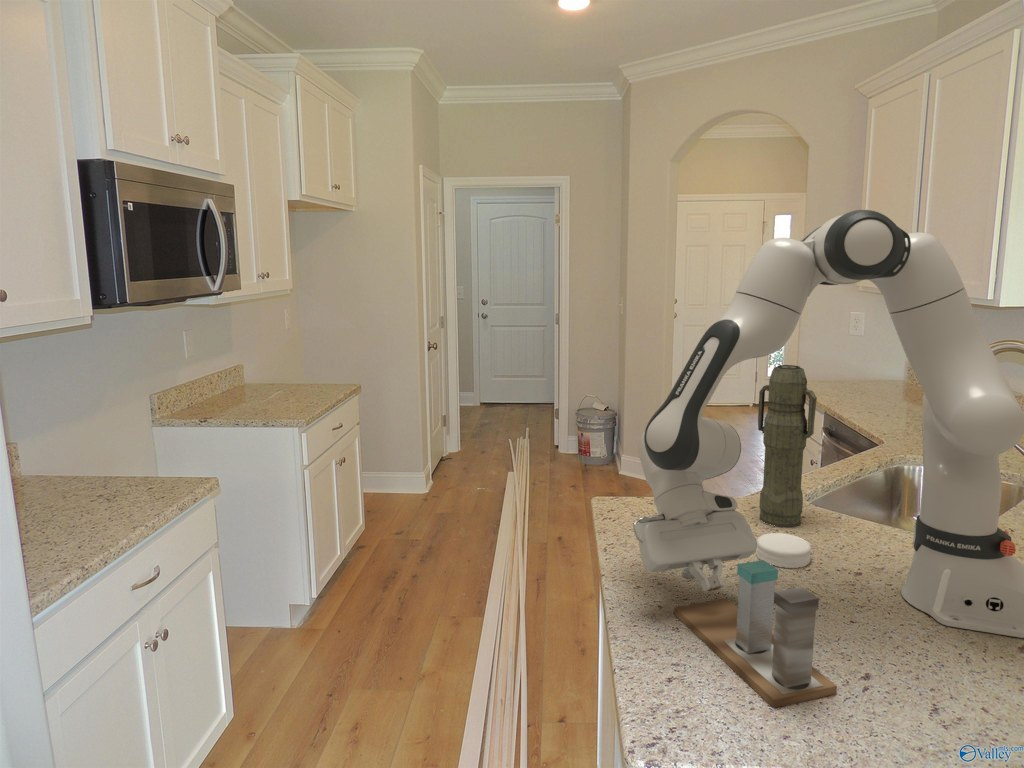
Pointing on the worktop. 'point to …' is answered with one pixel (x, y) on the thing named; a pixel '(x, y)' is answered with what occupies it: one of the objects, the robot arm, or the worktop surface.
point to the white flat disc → (783, 550)
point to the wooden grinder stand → (776, 670)
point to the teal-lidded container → (755, 605)
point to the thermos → (784, 444)
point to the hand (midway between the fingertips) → (714, 589)
